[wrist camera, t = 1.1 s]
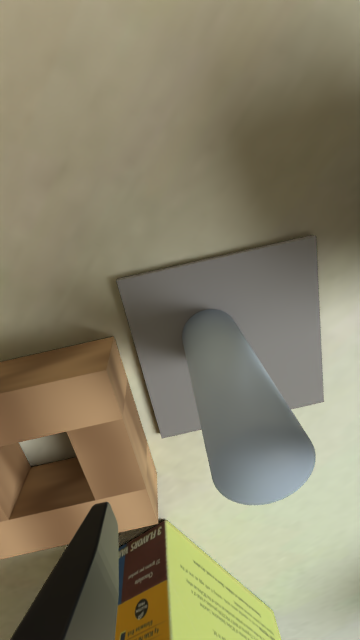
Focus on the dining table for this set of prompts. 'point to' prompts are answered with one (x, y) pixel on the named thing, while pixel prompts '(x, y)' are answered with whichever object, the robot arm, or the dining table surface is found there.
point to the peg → (243, 415)
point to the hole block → (86, 438)
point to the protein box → (183, 594)
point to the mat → (246, 310)
